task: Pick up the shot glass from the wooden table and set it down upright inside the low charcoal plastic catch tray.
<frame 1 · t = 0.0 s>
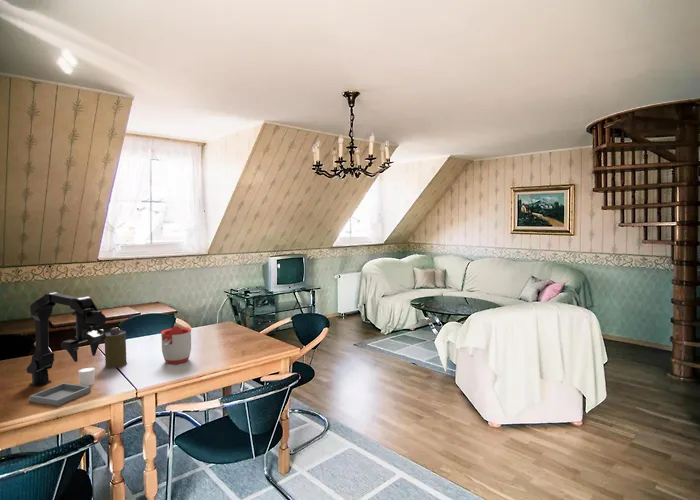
hand: (85, 358, 199), 15 cm above the table, tool pointing down, fingers open, 9 cm apart
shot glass: (87, 384, 208), on the table
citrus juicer: (176, 361, 241), on the table
canister: (116, 365, 235), on the table
catch tray: (61, 396, 193), on the table
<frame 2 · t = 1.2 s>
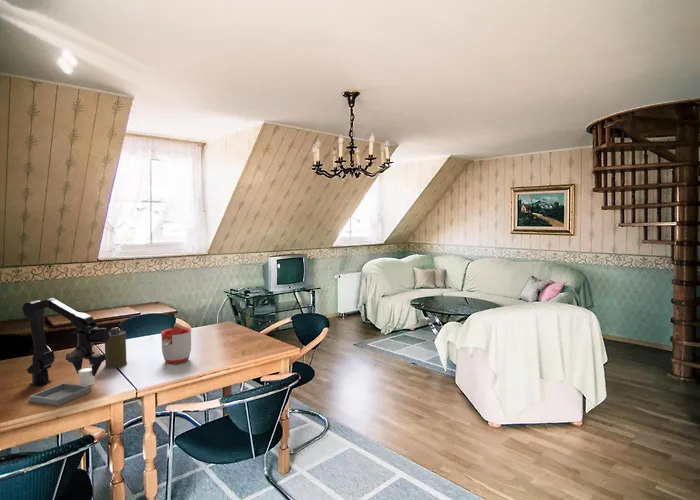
hand: (86, 374, 208), 4 cm above the table, tool pointing down, fingers open, 9 cm apart
nothing on the table moved.
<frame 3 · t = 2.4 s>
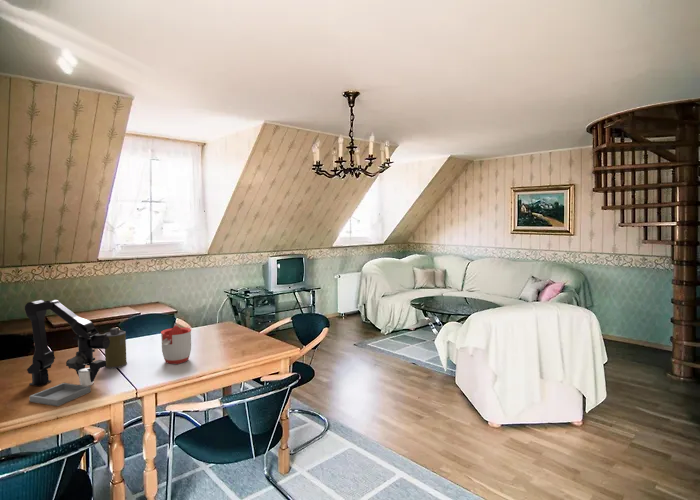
hand: (87, 380, 208), 2 cm above the table, tool pointing down, fingers closed on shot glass, 6 cm apart
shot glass: (87, 384, 208), on the table, touching gripper
everything else where it was.
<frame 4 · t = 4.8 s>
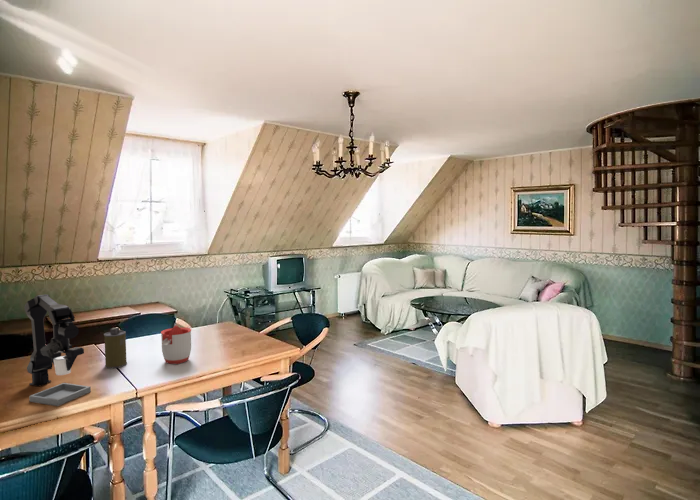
hand: (63, 369, 194), 12 cm above the table, tool pointing down, fingers closed on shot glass, 6 cm apart
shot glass: (63, 373, 194), point 10 cm above the table, touching gripper
everything else where it was.
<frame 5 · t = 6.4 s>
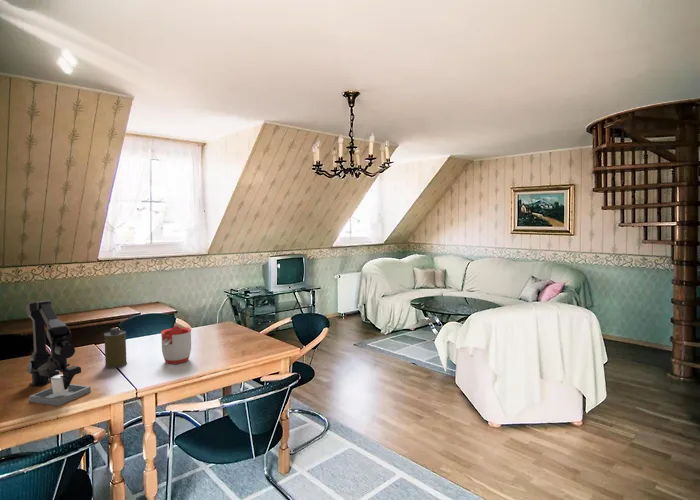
hand: (60, 388, 193), 4 cm above the table, tool pointing down, fingers closed on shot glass, 6 cm apart
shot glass: (60, 392, 193), point 2 cm above the table, touching gripper
everything else where it was.
when the fingers open (3 cm above the table, at t = 7.3 s): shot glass drops 2 cm, resting on catch tray.
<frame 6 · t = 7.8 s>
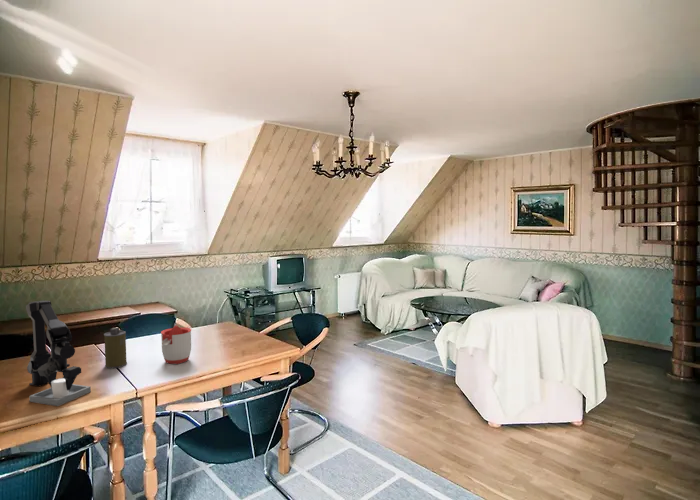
hand: (60, 388, 193), 3 cm above the table, tool pointing down, fingers open, 9 cm apart
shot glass: (61, 396, 193), resting on catch tray
everything else where it was.
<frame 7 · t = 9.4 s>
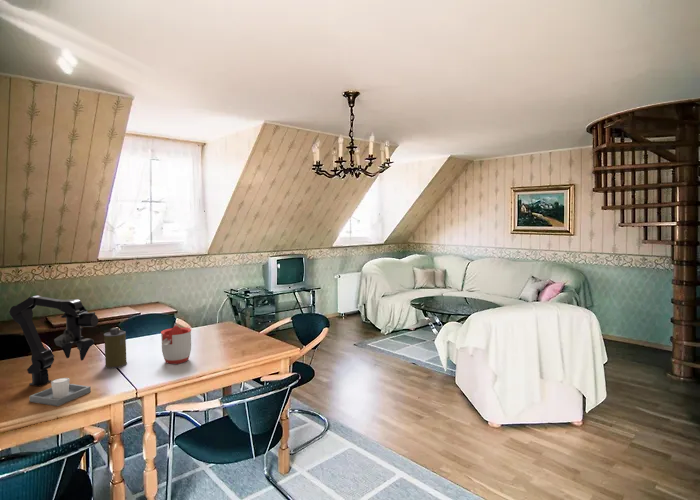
hand: (74, 359, 207), 12 cm above the table, tool pointing down, fingers open, 9 cm apart
nothing on the table moved.
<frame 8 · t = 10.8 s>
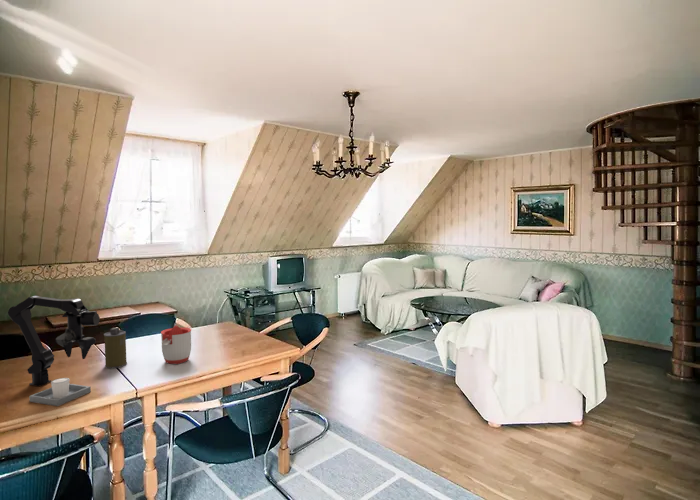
hand: (76, 358, 209), 12 cm above the table, tool pointing down, fingers open, 9 cm apart
nothing on the table moved.
at the end: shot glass inside the target area on the catch tray (0.1 cm from its centre), point 0.1 cm above the catch tray's base; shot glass tilted 0°; the gripper is holding nothing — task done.
